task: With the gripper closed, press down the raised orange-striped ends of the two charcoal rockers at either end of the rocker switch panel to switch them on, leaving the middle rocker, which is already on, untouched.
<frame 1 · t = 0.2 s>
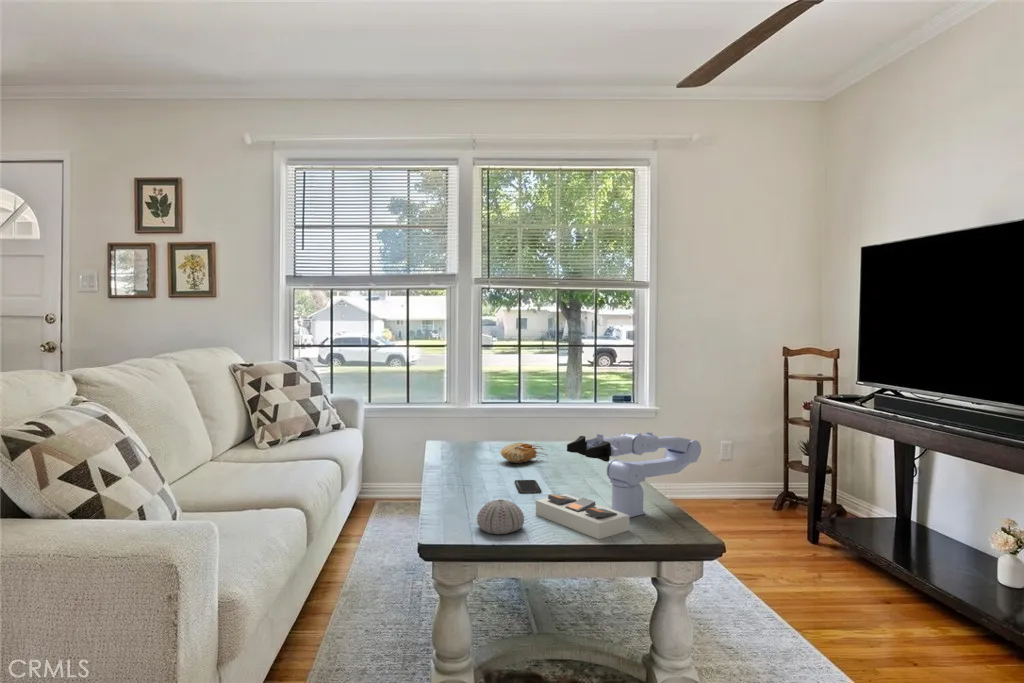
hand: (576, 450, 165), 21 cm above the table, fingers open, 7 cm apart
rocker 2: (601, 513, 162), point 5 cm above the table, hinge at -12.0°
phone: (527, 489, 206), on the table
rocker middle: (580, 506, 169), point 5 cm above the table, hinge at 12.0°
sea urchin shell: (500, 529, 163), on the table
rocker 1: (562, 499, 175), point 5 cm above the table, hinge at -12.0°
nautilus: (524, 462, 246), on the table
rocker switch panel: (580, 522, 169), on the table
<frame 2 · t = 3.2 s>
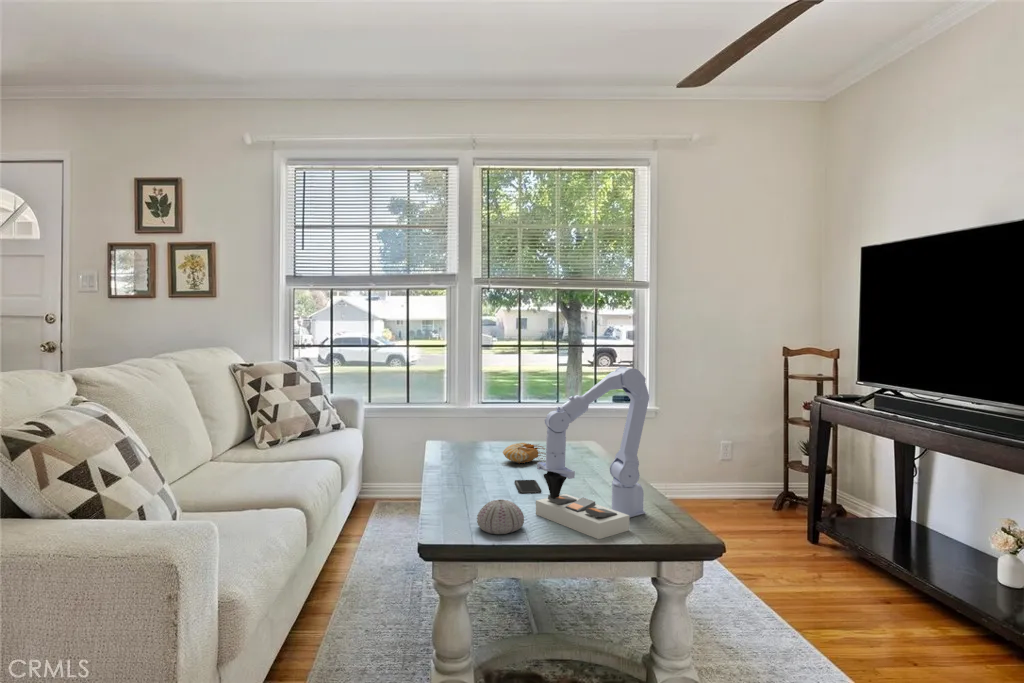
hand: (554, 498, 173), 6 cm above the table, fingers closed, pressing on rocker 1
rocker 1: (562, 499, 175), point 5 cm above the table, hinge at -10.8°, touching gripper
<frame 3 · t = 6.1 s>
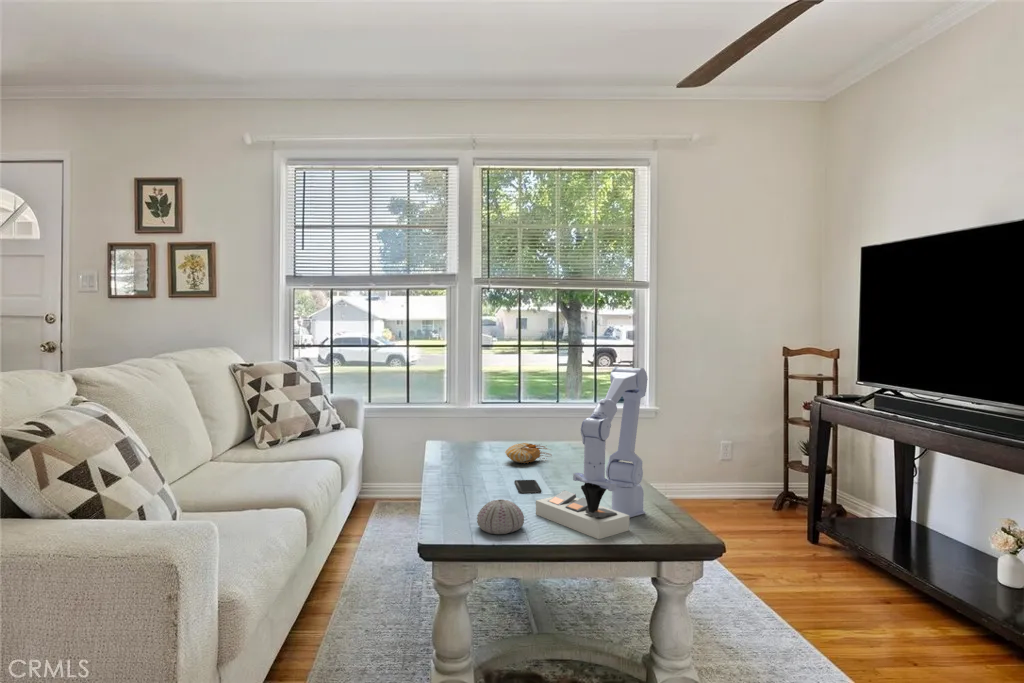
hand: (593, 511, 160), 6 cm above the table, fingers closed, pressing on rocker 2
rocker 2: (601, 513, 162), point 5 cm above the table, hinge at -10.3°, touching gripper
rocker 1: (561, 499, 175), point 5 cm above the table, hinge at 18.8°, touching rocker switch panel
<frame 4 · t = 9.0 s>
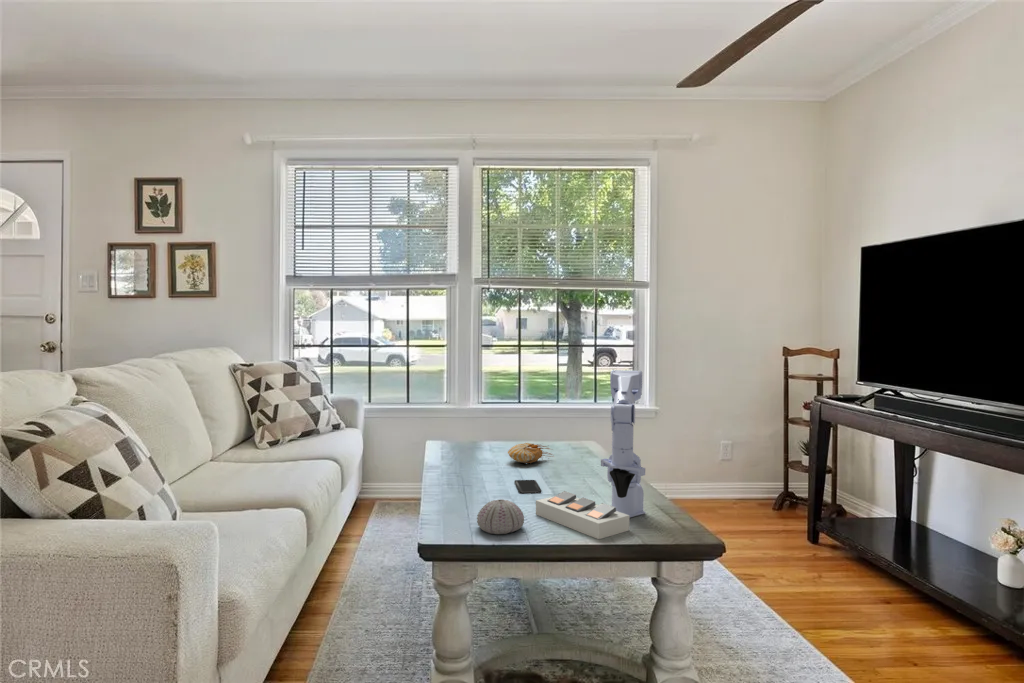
hand: (621, 496, 162), 9 cm above the table, fingers closed
rocker 2: (600, 513, 162), point 5 cm above the table, hinge at 17.7°
rocker 1: (561, 499, 175), point 5 cm above the table, hinge at 14.1°
at the end: rocker 1 at +14° (first picture: -12°); rocker 2 at +18° (first picture: -12°); rocker middle at +12° (first picture: +12°) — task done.
